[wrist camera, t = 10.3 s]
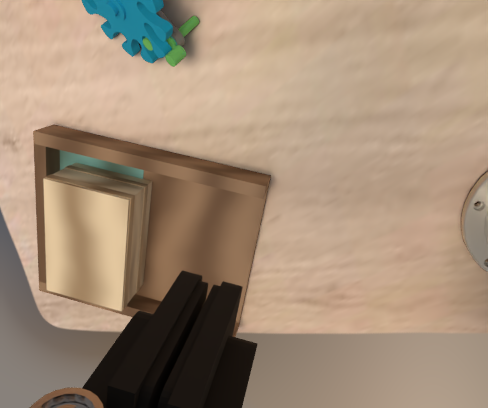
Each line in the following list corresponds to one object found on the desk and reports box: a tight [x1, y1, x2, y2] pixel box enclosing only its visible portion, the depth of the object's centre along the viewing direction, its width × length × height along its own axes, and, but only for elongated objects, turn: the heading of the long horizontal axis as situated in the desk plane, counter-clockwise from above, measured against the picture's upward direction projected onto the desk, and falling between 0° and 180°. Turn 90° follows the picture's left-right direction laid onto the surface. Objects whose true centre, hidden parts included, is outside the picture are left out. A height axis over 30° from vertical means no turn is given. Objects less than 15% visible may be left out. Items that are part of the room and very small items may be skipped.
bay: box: [33, 125, 271, 337], centre depth 41 cm, size 22×18×3 cm
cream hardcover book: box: [43, 163, 152, 311], centre depth 40 cm, size 8×12×5 cm
